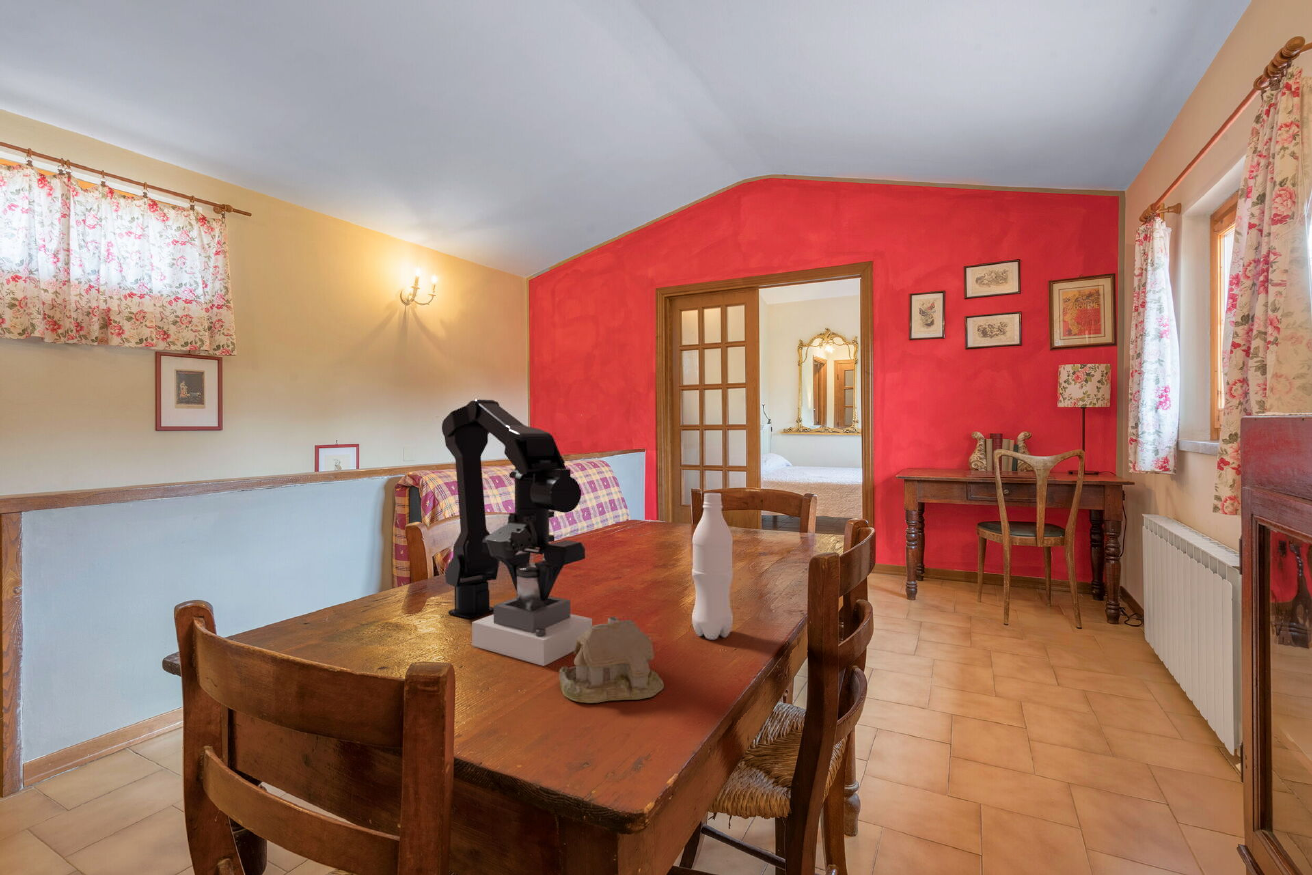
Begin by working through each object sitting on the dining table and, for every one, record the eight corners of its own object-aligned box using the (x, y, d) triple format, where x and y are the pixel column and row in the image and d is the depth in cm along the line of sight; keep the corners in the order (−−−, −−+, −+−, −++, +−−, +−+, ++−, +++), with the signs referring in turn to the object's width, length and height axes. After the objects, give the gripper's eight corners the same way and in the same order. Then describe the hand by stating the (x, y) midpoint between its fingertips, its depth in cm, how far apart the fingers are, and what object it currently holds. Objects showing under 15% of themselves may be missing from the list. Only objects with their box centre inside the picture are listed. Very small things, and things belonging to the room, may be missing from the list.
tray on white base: (472, 645, 99) (472, 604, 99) (523, 625, 109) (523, 587, 109) (543, 666, 90) (543, 620, 90) (591, 641, 101) (591, 601, 101)
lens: (509, 608, 99) (509, 567, 99) (531, 600, 103) (531, 561, 103) (532, 613, 96) (532, 571, 96) (554, 605, 100) (554, 564, 100)
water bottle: (706, 644, 99) (706, 497, 99) (684, 631, 106) (684, 492, 105) (740, 637, 103) (741, 494, 102) (718, 625, 109) (718, 490, 109)
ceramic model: (642, 665, 91) (642, 601, 91) (674, 695, 81) (674, 623, 81) (552, 681, 85) (552, 613, 85) (575, 716, 75) (575, 638, 75)
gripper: (456, 507, 97) (456, 601, 98) (540, 517, 88) (540, 621, 88) (505, 500, 107) (506, 585, 107) (587, 508, 97) (587, 602, 97)
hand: (532, 598), depth 100 cm, fingers closed on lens, 5 cm apart
